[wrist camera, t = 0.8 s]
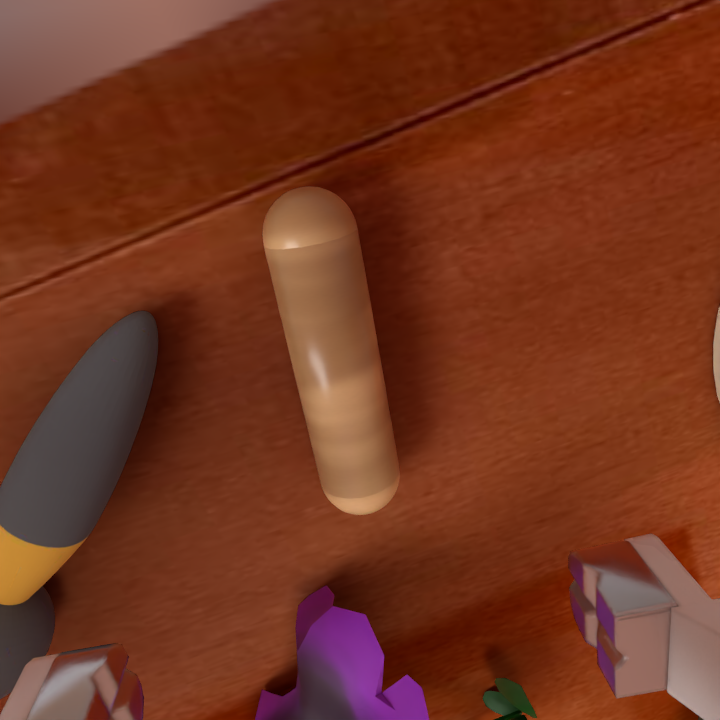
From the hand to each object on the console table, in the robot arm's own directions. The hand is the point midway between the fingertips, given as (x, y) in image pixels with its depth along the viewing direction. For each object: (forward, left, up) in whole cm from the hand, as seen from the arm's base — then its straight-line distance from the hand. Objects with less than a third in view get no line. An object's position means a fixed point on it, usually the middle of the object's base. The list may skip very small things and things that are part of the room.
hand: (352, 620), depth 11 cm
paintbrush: (+4, -13, -14) cm, 19 cm away
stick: (0, 0, -14) cm, 14 cm away
